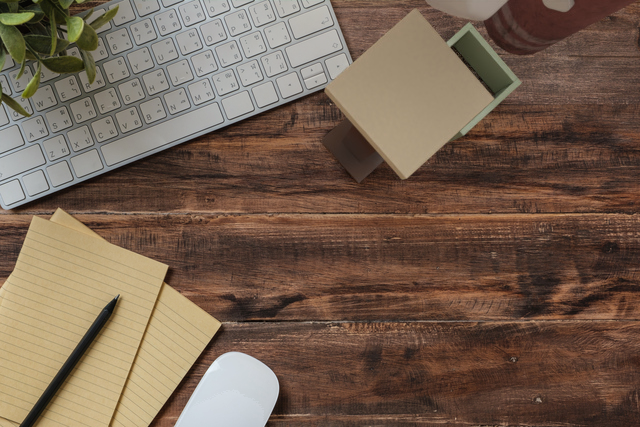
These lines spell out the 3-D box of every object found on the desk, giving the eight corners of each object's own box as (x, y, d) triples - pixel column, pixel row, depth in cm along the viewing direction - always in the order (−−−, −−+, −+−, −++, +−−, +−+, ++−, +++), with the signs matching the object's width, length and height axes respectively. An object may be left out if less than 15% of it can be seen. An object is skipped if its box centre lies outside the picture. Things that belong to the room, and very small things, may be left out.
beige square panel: (323, 91, 40) (325, 86, 39) (411, 14, 41) (415, 7, 39) (402, 180, 41) (406, 178, 39) (487, 103, 41) (495, 98, 40)
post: (320, 141, 67) (340, 92, 40) (361, 104, 68) (410, 31, 41) (357, 183, 68) (403, 163, 41) (399, 146, 68) (471, 101, 41)
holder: (399, 86, 68) (410, 74, 62) (453, 38, 69) (469, 21, 63) (448, 142, 69) (463, 135, 63) (502, 94, 69) (522, 82, 63)
